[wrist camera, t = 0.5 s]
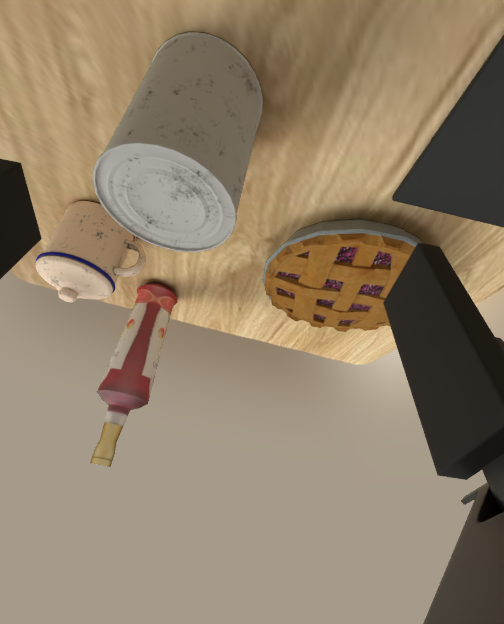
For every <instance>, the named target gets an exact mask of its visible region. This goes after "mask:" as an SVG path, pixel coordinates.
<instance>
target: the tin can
mask: <svg viewBox="0 0 504 624" xmlns="http://www.w3.org/2000/svg"><path fill="white" fill-rule="evenodd" d="M262 108H263V97H262V92H261V87H260V84H259V81H258V79H257V76H256V74H255V72H254V70H253V68H252V67H251V65H250V64H249V62H248V61H247V60H246V58H245V57H244V56H243V55H242V54H241V53H240V52H239V51H238V50H237V49H236V48H235V47H234V46H232V45H230V44H229V43H227V42H226V41H224V40H223V39H221V38H218V37H216V36H213V35H210V34H207V33H198V32H188V33H183V34H179V35H176V36H174V37H173V38H171V39H169V40H167V41H166V42H165V43H164V44H163V45H162V46H161V47H160V48H159V49H158V50H157V52H156V54H155V56H154V58H153V60H152V62H151V66H150V68H149V70H148V71H147V73H146V75H145V77H144V79H143V81H142V82H141V84H140V86H139V88H138V90H137V92H136V94H135V95H134V97H133V99H132V101H131V103H130V105H129V106H128V108H127V110H126V112H125V114H124V116H123V117H122V119H121V121H120V123H119V125H118V127H117V129H116V130H115V132H114V134H113V136H112V138H111V140H110V141H109V143H108V145H107V147H106V149H105V151H104V152H103V153H102V154H101V155H100V156H99V158H98V160H97V162H96V164H95V166H94V168H93V184H94V188H95V192H96V195H97V197H98V199H99V200H100V202H101V204H102V206H103V207H104V208H105V210H106V211H107V212H108V213H109V215H110V216H111V217H112V218H113V219H114V220H115V221H116V222H117V223H118V224H120V225H121V226H122V227H123V228H125V229H126V230H127V231H129V232H130V233H132V234H133V235H135V236H137V237H139V238H140V239H142V240H144V241H146V242H148V243H151V244H153V245H156V246H158V247H162V248H166V249H169V250H174V251H181V252H200V251H206V250H210V249H212V248H215V247H217V246H219V245H221V244H222V243H223V242H225V241H226V240H227V239H228V238H229V236H230V235H231V234H232V232H233V230H234V227H235V223H236V213H237V209H238V205H239V201H240V197H241V193H242V189H243V185H244V180H245V176H246V172H247V168H248V164H249V160H250V156H251V152H252V148H253V144H254V139H255V135H256V131H257V127H258V125H259V123H260V119H261V115H262Z"/></svg>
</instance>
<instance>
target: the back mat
mask: <svg viewBox="0 0 504 624" xmlns="http://www.w3.org/2000/svg"><path fill="white" fill-rule="evenodd" d="M392 197H393V201H398V202H402V203H406V204H410V205H414V206H418V207H422V208H426V209H430V210H435V211H439V212H443V213H447V214H451V215H455V216H459V217H463V218H467V219H472V220H476V221H480V222H484V223H488V224H492V225H496V226H500V227H504V36H503V37H502V39H501V40H500V42H499V43H498V45H497V46H496V48H495V49H494V50H493V52H492V53H491V55H490V56H489V58H488V59H487V60H486V62H485V63H484V65H483V66H482V68H481V69H480V71H479V72H478V73H477V75H476V76H475V78H474V79H473V81H472V82H471V84H470V85H469V86H468V88H467V89H466V91H465V92H464V94H463V95H462V97H461V98H460V99H459V101H458V102H457V104H456V105H455V107H454V108H453V110H452V111H451V112H450V114H449V115H448V117H447V118H446V120H445V121H444V123H443V124H442V125H441V127H440V128H439V130H438V131H437V133H436V134H435V136H434V137H433V138H432V140H431V141H430V143H429V144H428V146H427V147H426V149H425V150H424V151H423V153H422V154H421V156H420V157H419V159H418V160H417V162H416V163H415V164H414V166H413V167H412V169H411V170H410V172H409V173H408V174H407V176H406V177H405V179H404V180H403V182H402V183H401V185H400V186H399V187H398V189H397V190H396V192H395V193H394V195H393V196H392Z"/></svg>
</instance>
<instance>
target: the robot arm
mask: <svg viewBox="0 0 504 624" xmlns="http://www.w3.org/2000/svg"><path fill="white" fill-rule="evenodd" d="M40 240H41V235H40V231H39V228H38V224H37V220H36V217H35V213H34V209H33V206H32V202H31V198H30V195H29V191H28V187H27V184H26V180H25V176H24V173H23V169H22V165H21V163H18V162H13V161H8V160H3V159H0V279H1V278H2V277H3V276H4V275H5V274H6V273H7V272H8V271H9V270H10V269H11V268H12V267H13V266H14V265H15V264H16V263H17V262H18V261H19V260H20V259H21V258H22V257H23V256H24V255H25V254H26V253H27V252H28V251H29V250H30V249H31V248H32V247H33V246H35V245H36V244H37V243H38V242H39V241H40ZM383 304H384V307H385V310H386V313H387V317H388V320H389V323H390V326H391V329H392V332H393V335H394V339H395V342H396V345H397V348H398V351H399V354H400V357H401V361H402V364H403V367H404V370H405V373H406V377H407V380H408V383H409V386H410V389H411V392H412V396H413V399H414V402H415V405H416V408H417V411H418V415H419V418H420V421H421V424H422V427H423V430H424V434H425V437H426V440H427V443H428V446H429V449H430V452H431V456H432V459H433V462H434V465H435V468H436V471H437V474H438V475H439V476H446V477H452V478H459V479H465V480H467V479H468V478H470V477H471V476H473V475H474V474H476V473H477V472H479V471H480V470H483V472H484V475H485V477H486V480H487V482H488V483H486V484H484V485H483V486H481V487H479V488H478V489H476V490H475V491H473V492H471V493H470V494H468V495H466V496H465V497H464V498H463V499H462V500H461V502H462V503H463V504H467V503H469V502H470V501H472V500H475V501H474V503H473V506H472V508H471V510H470V513H469V515H468V518H467V520H466V522H465V525H464V527H463V530H462V532H461V535H460V537H459V539H458V542H457V544H456V547H455V549H454V551H453V554H452V556H451V559H450V561H449V564H448V566H447V568H446V571H445V573H444V576H443V578H442V580H441V583H440V585H439V587H438V590H437V593H436V595H435V597H434V599H433V602H432V604H431V607H430V609H429V612H428V614H427V617H426V619H425V621H424V624H504V342H503V340H502V339H500V338H496V337H494V335H493V333H492V332H491V330H490V329H489V327H488V326H487V324H486V322H485V320H484V319H483V317H482V316H481V314H480V312H479V311H478V309H477V307H476V306H475V304H474V302H473V301H472V299H471V297H470V296H469V294H468V293H467V291H466V289H465V288H464V286H463V284H462V283H461V281H460V280H459V278H458V276H457V275H456V273H455V271H454V270H453V268H452V266H451V265H450V263H449V262H448V260H447V258H446V257H445V255H444V253H443V252H442V250H441V249H440V247H438V246H433V245H428V244H423V243H418V244H417V245H416V247H415V249H414V250H413V252H412V254H411V256H410V257H409V259H408V261H407V262H406V264H405V266H404V268H403V269H402V271H401V273H400V274H399V276H398V278H397V280H396V281H395V283H394V285H393V287H392V288H391V290H390V292H389V293H388V295H387V297H386V299H385V300H384V302H383Z"/></svg>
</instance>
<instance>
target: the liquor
mask: <svg viewBox="0 0 504 624" xmlns="http://www.w3.org/2000/svg"><path fill="white" fill-rule="evenodd" d="M137 293H138V297H137V299H136V302H135V304H134V307H133V309H132V312H131V314H130V317H129V319H128V322H127V324H126V326H125V329H124V331H123V333H122V336H121V338H120V340H119V342H118V345H117V347H116V350H115V351H114V354H113V356H112V358H111V360H110V363H109V365H108V367H107V370H106V372H105V375H104V378H103V380H102V382H101V384H100V387H99V389H98V391H97V392H98V394H99V395H100V397H101V399H102V400H103V401H105V402H106V403H107V404H108V405H109V407H108V411H107V415H106V419H105V423H104V426H103V431H102V434H101V438H100V441H99V443H98V445H97V446H96V448H95V450H94V453H93V456H92V459H91V462H90V463H93V464H98V465H103V466H109V467H110V466H111V463H112V460H113V457H114V453H115V447H116V442H117V440H118V437H119V435H120V432H121V430H122V428H123V425H124V423H125V421H126V419H127V416H128V414H129V411H130V410H132V409H137V408H141V407H142V406H144V405H146V404H148V401H149V397H150V393H151V389H152V385H153V382H154V378H155V374H156V370H157V366H158V362H159V357H160V353H161V349H162V345H163V340H164V337H165V333H166V330H167V326H168V322H169V319H170V315H171V312H172V308H173V306H174V305H175V304H176V303H177V298H176V296H175V295H174V293H173V292H172V291H171V289H170V288H168V287H167V286H165V285H163V284H160V283H148V284H145V285H142V286H140V287H138V289H137Z"/></svg>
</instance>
